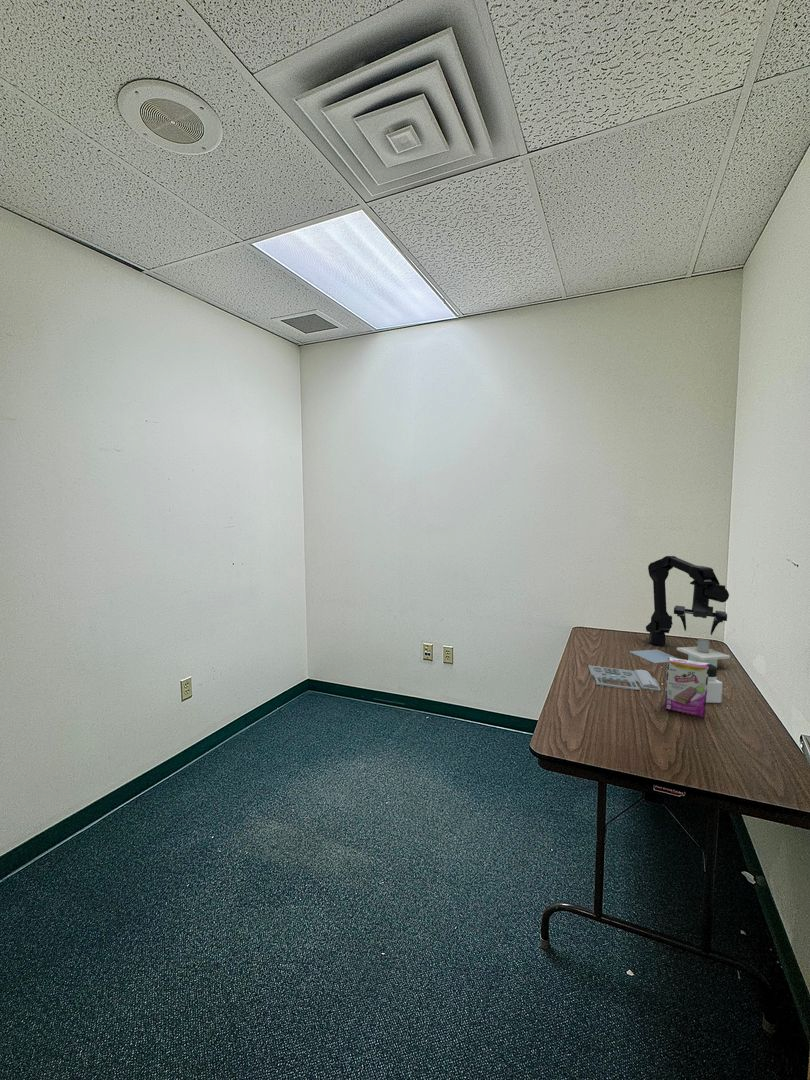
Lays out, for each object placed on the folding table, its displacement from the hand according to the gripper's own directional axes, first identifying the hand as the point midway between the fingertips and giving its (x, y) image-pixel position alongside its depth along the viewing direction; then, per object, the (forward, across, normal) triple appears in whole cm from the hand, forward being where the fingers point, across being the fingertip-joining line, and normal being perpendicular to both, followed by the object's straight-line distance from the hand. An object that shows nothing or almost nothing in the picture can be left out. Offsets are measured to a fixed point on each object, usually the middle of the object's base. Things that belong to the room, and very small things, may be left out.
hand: (698, 632), depth 190 cm
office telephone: (+13, -23, -41) cm, 49 cm away
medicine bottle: (+12, +3, -44) cm, 45 cm away
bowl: (+12, +2, -6) cm, 14 cm away
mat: (+13, -15, -4) cm, 20 cm away
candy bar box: (+12, -3, -59) cm, 61 cm away
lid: (+7, +2, -6) cm, 9 cm away
